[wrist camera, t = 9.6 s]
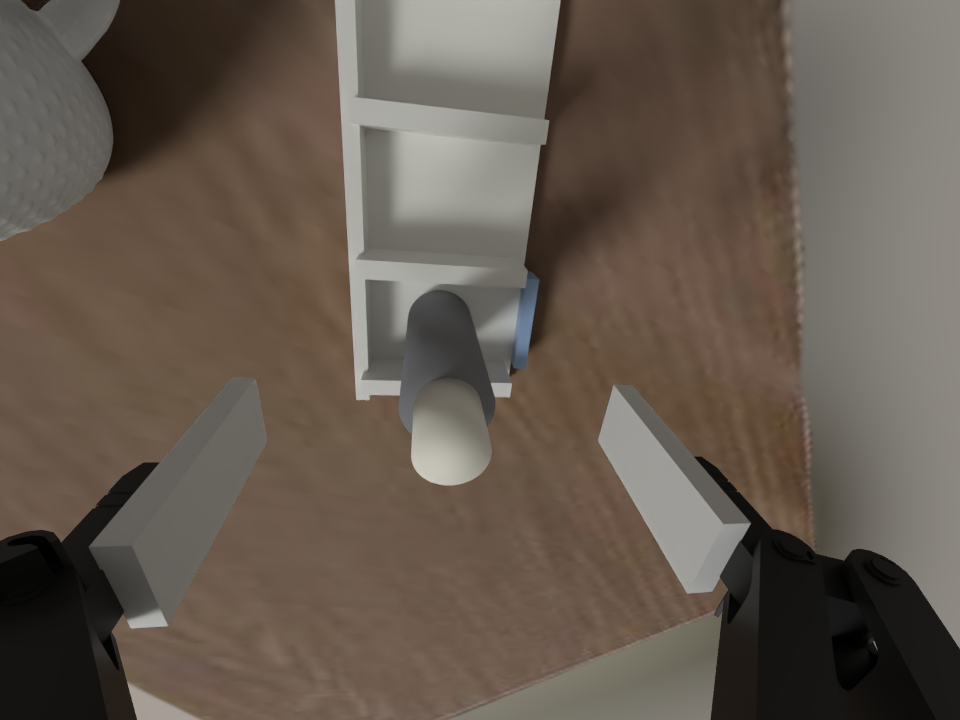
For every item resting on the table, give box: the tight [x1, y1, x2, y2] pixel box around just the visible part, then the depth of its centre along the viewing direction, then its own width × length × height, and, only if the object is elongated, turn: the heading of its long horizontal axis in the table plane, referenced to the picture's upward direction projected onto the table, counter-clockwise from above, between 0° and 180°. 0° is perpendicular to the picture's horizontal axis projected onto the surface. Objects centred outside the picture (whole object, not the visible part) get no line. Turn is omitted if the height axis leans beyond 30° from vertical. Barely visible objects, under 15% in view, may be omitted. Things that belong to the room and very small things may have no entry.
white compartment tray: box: [335, 0, 561, 400], centre depth 22 cm, size 24×11×4 cm, turn 175°
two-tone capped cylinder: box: [399, 290, 495, 485], centre depth 20 cm, size 4×4×13 cm
